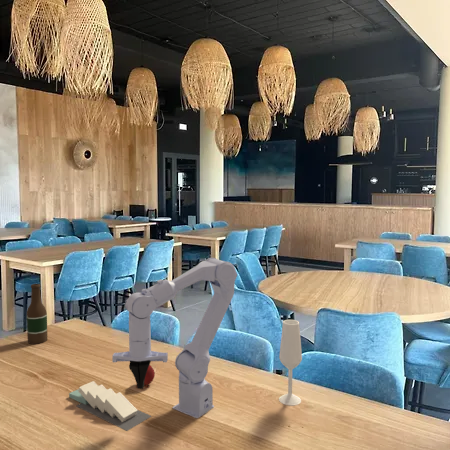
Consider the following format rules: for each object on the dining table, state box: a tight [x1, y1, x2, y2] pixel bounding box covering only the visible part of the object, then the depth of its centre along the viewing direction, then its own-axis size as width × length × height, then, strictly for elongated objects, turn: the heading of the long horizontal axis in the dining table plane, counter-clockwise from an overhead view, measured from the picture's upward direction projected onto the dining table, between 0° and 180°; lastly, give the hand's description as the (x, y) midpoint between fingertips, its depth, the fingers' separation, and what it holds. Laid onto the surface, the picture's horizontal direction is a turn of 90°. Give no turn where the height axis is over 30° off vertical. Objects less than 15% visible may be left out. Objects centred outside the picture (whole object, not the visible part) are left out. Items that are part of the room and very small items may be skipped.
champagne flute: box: [278, 319, 303, 406], centre depth 128 cm, size 7×7×24 cm
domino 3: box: [87, 384, 107, 413], centre depth 125 cm, size 2×5×8 cm
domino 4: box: [95, 387, 117, 418], centre depth 122 cm, size 2×5×8 cm
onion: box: [144, 365, 156, 387], centre depth 138 cm, size 6×6×8 cm
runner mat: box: [75, 403, 152, 432], centre depth 122 cm, size 22×9×1 cm, turn 54°
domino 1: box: [68, 388, 88, 405], centre depth 130 cm, size 2×5×8 cm
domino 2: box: [77, 380, 99, 409], centre depth 127 cm, size 2×5×8 cm
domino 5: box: [105, 391, 139, 422], centre depth 120 cm, size 2×5×8 cm
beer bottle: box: [26, 283, 48, 345], centre depth 178 cm, size 8×8×24 cm
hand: (140, 387), depth 116 cm, fingers closed
